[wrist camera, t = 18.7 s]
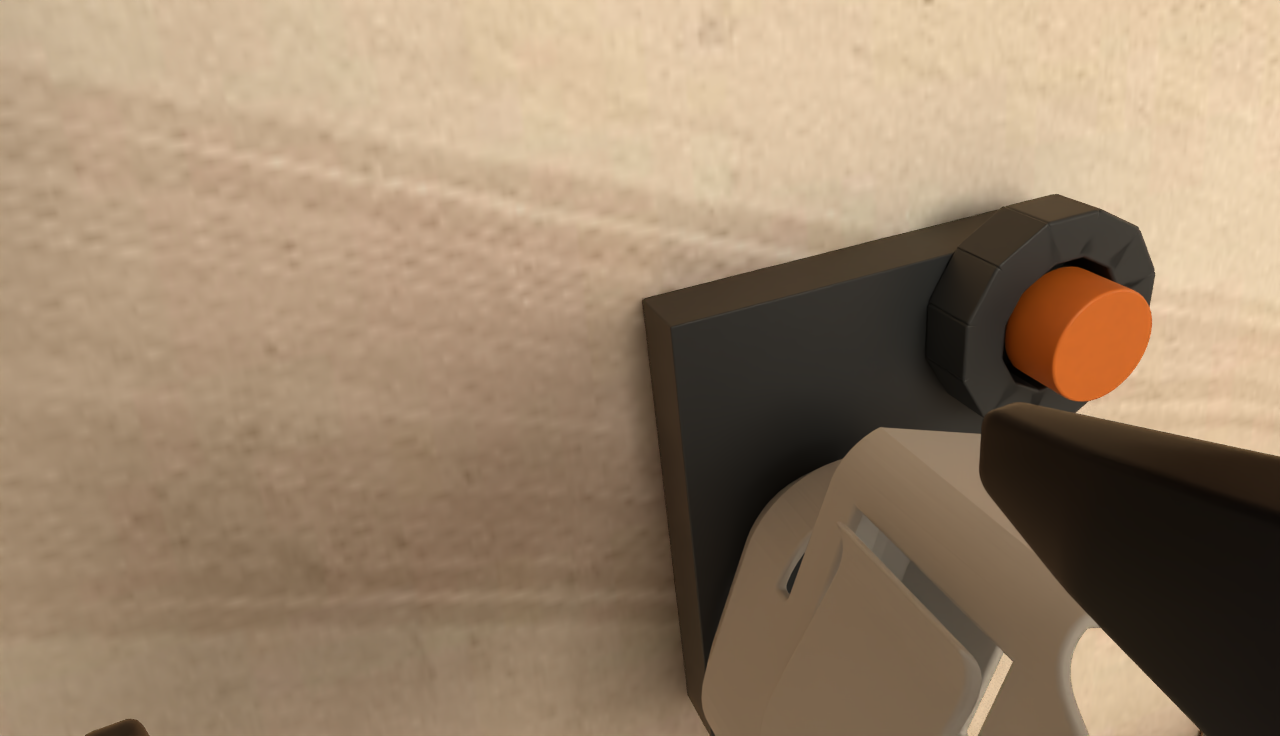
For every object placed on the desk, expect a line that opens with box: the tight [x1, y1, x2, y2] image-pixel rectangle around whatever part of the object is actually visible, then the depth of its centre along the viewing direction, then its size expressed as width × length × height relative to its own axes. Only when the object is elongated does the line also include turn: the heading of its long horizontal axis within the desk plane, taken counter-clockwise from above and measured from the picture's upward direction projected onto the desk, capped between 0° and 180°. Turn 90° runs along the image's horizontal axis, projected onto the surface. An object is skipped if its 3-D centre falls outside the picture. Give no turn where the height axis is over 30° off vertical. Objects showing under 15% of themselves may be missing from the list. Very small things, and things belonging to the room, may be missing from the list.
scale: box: [643, 194, 1155, 736], centre depth 26 cm, size 15×13×4 cm
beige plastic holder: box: [702, 427, 1206, 736], centre depth 21 cm, size 7×12×12 cm, turn 164°
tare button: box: [1005, 266, 1152, 402], centre depth 23 cm, size 3×3×2 cm
